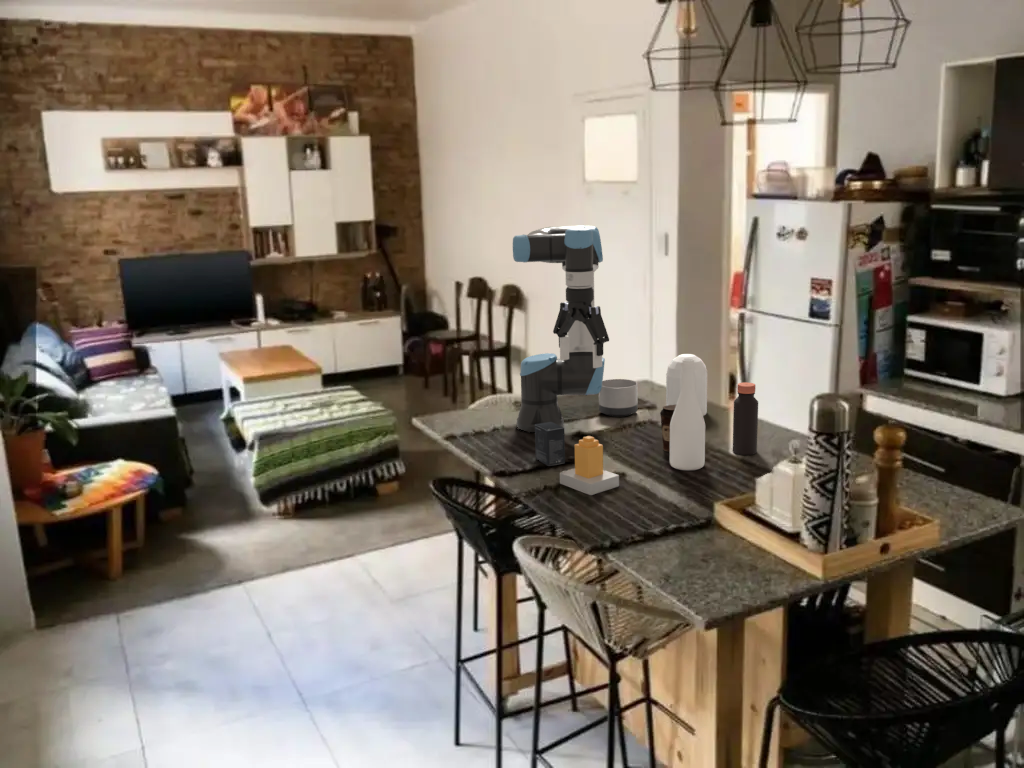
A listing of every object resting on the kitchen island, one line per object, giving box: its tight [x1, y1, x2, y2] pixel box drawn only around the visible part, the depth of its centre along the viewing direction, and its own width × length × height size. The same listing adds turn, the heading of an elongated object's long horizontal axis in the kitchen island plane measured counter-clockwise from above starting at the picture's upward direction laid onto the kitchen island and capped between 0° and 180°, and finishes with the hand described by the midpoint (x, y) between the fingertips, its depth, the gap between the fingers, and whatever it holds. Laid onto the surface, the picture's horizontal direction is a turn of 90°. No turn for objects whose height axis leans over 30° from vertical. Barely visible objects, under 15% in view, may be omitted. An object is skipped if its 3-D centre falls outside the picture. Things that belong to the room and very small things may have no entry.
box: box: [534, 422, 566, 467], centre depth 256 cm, size 8×6×11 cm
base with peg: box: [559, 467, 620, 496], centre depth 238 cm, size 15×10×8 cm, turn 37°
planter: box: [598, 378, 639, 418], centre depth 303 cm, size 13×13×10 cm
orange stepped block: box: [574, 435, 604, 479], centre depth 236 cm, size 5×5×10 cm
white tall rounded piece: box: [669, 359, 706, 471], centre depth 246 cm, size 10×10×30 cm
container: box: [665, 353, 708, 417], centre depth 300 cm, size 14×13×20 cm
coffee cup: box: [659, 405, 676, 453], centre depth 262 cm, size 9×8×13 cm
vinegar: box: [732, 381, 759, 456], centre depth 257 cm, size 7×7×20 cm
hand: (580, 363), depth 249 cm, fingers open, 13 cm apart
